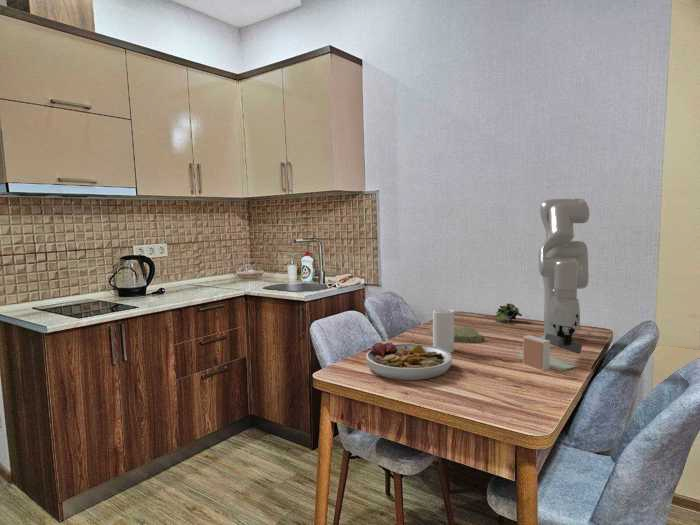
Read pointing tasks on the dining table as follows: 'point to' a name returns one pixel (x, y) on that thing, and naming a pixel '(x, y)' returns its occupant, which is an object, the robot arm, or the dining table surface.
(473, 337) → the decorative tile
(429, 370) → the bowl
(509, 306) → the green leafy plant
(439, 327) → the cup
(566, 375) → the dining table surface
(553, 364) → the mat
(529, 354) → the tile
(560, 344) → the grey t-shaped block
